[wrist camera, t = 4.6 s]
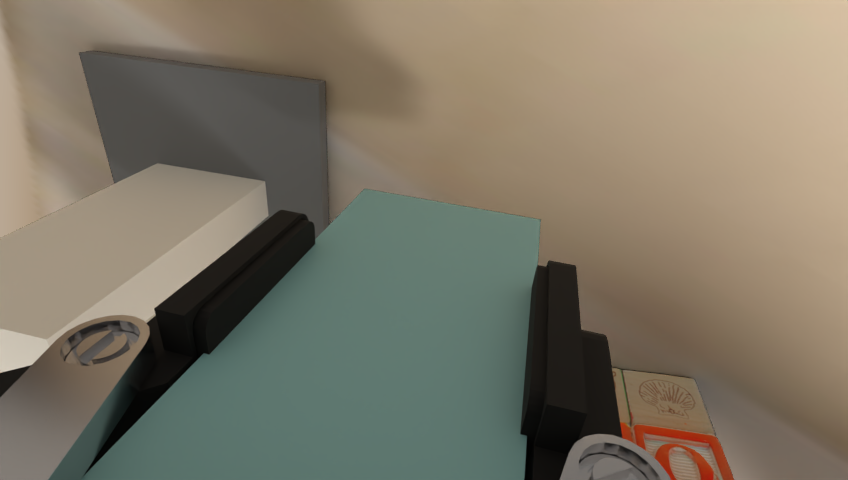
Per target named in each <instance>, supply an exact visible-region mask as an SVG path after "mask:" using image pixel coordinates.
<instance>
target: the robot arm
mask: <svg viewBox="0 0 848 480" xmlns="http://www.w3.org/2000/svg"><path fill="white" fill-rule="evenodd" d="M314 245H315V226H314V223H313V222H311V221H309V220H308V217H307V216H306V215H305V214H302V213H297V212H292V211H287V210H279V211H278V212H276V213H275V214H274V215H273V216H271V217H270V218H269V219H267V220H266V221H265V222H264V223H262V224H261V225H260V226H259V227H257V228H256V229H255V230H253V231H252V232H251V233H250V234H248V235H247V236H246V237H245V238H243V239H242V240H241V241H239V242H238V243H237V244H236V245H234V246H233V247H232V248H231V249H229V250H228V251H227V252H225V253H224V254H223V255H222V256H220V257H219V258H218V259H217V260H215V261H214V262H213V263H211V264H210V265H209V266H208V267H206V268H205V269H204V270H203V271H201V272H200V273H199V274H197V275H196V276H195V277H194V278H192V279H191V280H190V281H189V282H187V283H186V284H185V285H183V286H182V287H181V288H180V289H178V290H177V291H176V292H175V293H173V294H172V295H171V296H169V297H168V298H167V299H166V300H164V301H163V302H162V303H161V304H159V305H158V306H157V307H155V308H154V310H155V314H156V316H155V317H153V318H152V319H151V320H150V321H148V322H147V323H146V322H145V321H144V320H142V319H140V318H137V317H135V316H128V315H111V316H105V317H101V318H96V319H93V320H90V321H87V322H84V323H82V324H79V325H78V326H76V327H74V328H72V329H70V330H68V331H67V332H65V333H64V334H63V335H62V336H61V337H59V338H58V339H57V340H56V341H55V342H54V343H53V344H52V345H51V346H50V347H49V348H48V349H47V350H46V351H45V352H44V353H43V354H42V355H41V356H40V357H39V358H38V359H37V360H36V361H35V362H34V363H33V364H32V365H30V366H26V367H22V368H18V369H14V370H10V371H6V372H2V373H0V480H81V479H82V477H83V476H84V475H85V474H86V473H87V472H88V471H89V470H90V469H91V468H92V467H93V466H94V465H95V464H96V463H97V462H98V461H99V460H100V459H101V458H102V457H103V456H104V455H105V454H106V453H107V452H108V450H109V449H110V448H111V447H112V446H113V445H114V444H115V443H116V442H117V441H118V440H119V439H120V438H121V437H122V436H123V435H124V434H125V433H126V432H127V431H128V430H129V429H130V428H131V427H132V426H133V425H134V424H135V423H136V422H137V421H138V420H139V419H140V418H141V417H142V416H143V415H144V414H145V413H146V412H147V411H148V410H149V409H150V408H151V407H152V406H153V405H154V404H155V402H156V401H157V400H158V399H159V398H160V397H161V396H162V395H163V394H164V393H165V392H166V391H167V390H168V389H169V388H170V387H171V386H172V385H173V384H174V383H175V382H176V381H177V380H178V379H179V378H180V377H181V376H182V375H183V374H184V373H185V372H186V371H187V370H188V369H189V368H190V367H191V366H192V365H193V364H194V363H195V362H196V361H197V360H198V359H199V358H200V357H201V355H202V354H203V353H205V354H208V355H209V354H210V353H211V352H212V351H213V350H214V349H215V348H216V347H217V346H218V345H219V344H220V343H221V342H222V341H223V340H224V339H225V338H226V337H227V336H228V335H229V334H230V333H231V331H232V330H233V329H234V328H235V327H236V326H237V325H238V324H239V323H240V322H241V321H242V320H243V319H244V318H245V317H246V316H247V315H248V314H249V313H250V312H251V311H252V310H253V309H254V307H255V306H256V305H257V304H258V303H259V302H260V301H261V300H262V299H263V298H264V297H265V296H266V295H267V294H268V293H269V292H270V291H271V290H272V289H273V288H274V287H275V286H276V284H277V283H278V282H279V281H280V280H281V279H282V278H283V277H284V276H285V275H286V274H287V273H288V272H289V271H290V270H291V269H292V268H293V267H294V266H295V265H296V264H297V263H298V262H299V260H300V259H301V258H302V257H303V256H304V255H305V254H306V253H307V252H308V251H309V250H310V249H311V248H312V247H313V246H314ZM520 434H522V435H526V436H527V445H526V461H525V477H524V480H671V479H670V476H669V475H668V474H667V472H666V471H665V470H664V468H663V467H662V466H661V464H660V463H659V462H658V461H657V460H656V459H655V458H654V457H653V456H651V455H650V454H649V453H648V452H647V451H646V450H644V449H643V448H641V447H639V446H638V445H636V444H634V443H632V442H631V441H629V440H626V439H623V437H622V431H621V424H620V418H619V411H618V405H617V398H616V392H615V385H614V378H613V372H612V365H611V359H610V352H609V346H608V341H607V337H606V336H605V335H603V334H598V333H594V332H589V331H584V330H581V324H580V311H579V298H578V285H577V272H576V266H575V265H570V264H565V263H560V262H554V261H548V263H547V267H544V266H539V265H537V268H536V271H535V275H534V280H533V284H532V290H531V303H530V316H529V328H528V341H527V354H526V367H525V379H524V392H523V405H522V417H521V430H520Z"/></svg>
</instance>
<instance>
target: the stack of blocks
mask: <svg viewBox="0 0 848 480" xmlns="http://www.w3.org/2000/svg"><path fill="white" fill-rule="evenodd" d="M612 372H613V378H614V385H615V392H616V398H617V405H618V411H619V418H620V424H621V431H622V437H623V439H626V440H629V441H631V442H632V443H634V444H636V445H638V446H639V447H641V448H643V449H644V450H646V451H647V452H648V453H649V454H650V455H651V456H653V457H654V458H655V459H656V460H657V461H658V462H659V463H660V464H661V466H662V467H663V468H664V470H665V471H666V472H667V474H668V475H669V476H670V479H671V480H734V478H733V475H732V472H731V470H730V467H729V465H728V462H727V460H726V457H725V455H724V452H723V449H722V447H721V444H720V442H719V440H718V439H717V438H716V434H715V430H714V428H713V425H712V422H711V420H710V418H709V415H708V412H707V409H706V407H705V404H704V402H703V400H702V397H701V394H700V391H699V389H698V386H697V383H696V381H695V379H691V378H685V377H677V376H670V375H663V374H655V373H646V372H638V371H629V370H620V369H617V368H612Z"/></svg>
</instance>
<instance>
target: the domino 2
mask: <svg viewBox="0 0 848 480" xmlns="http://www.w3.org/2000/svg"><path fill="white" fill-rule="evenodd" d="M540 222H541V220H540V219H534V218H529V217H523V216H517V215H512V214H506V213H500V212H495V211H489V210H483V209H477V208H472V207H466V206H460V205H455V204H449V203H443V202H438V201H432V200H426V199H420V198H415V197H409V196H403V195H398V194H392V193H386V192H381V191H375V190H369V189H364V190H363V191H362V192H361V193H360V194H359V195H358V196H357V197H356V198H355V199H354V200H353V201H352V202H351V203H350V204H349V205H348V206H347V207H346V208H345V209H344V210H343V211H342V212H341V213H340V215H339V216H338V217H337V218H336V219H335V220H334V221H333V222H332V223H331V224H330V225H329V226H328V227H327V228H326V229H325V230H324V231H323V232H322V233H321V234H320V235H319V236H318V237H317V238H316V239H315V245H314V246H313V247H312V248H311V249H310V250H309V251H308V252H307V253H306V254H305V255H304V256H303V257H302V258H301V259H300V260H299V262H298V263H297V264H296V265H295V266H294V267H293V268H292V269H291V270H290V271H289V272H288V273H287V274H286V275H285V276H284V277H283V278H282V279H281V280H280V281H279V282H278V283H277V284H276V286H275V287H274V288H273V289H272V290H271V291H270V292H269V293H268V294H267V295H266V296H265V297H264V298H263V299H262V300H261V301H260V302H259V303H258V304H257V305H256V306H255V307H254V309H253V310H252V311H251V312H250V313H249V314H248V315H247V316H246V317H245V318H244V319H243V320H242V321H241V322H240V323H239V324H238V325H237V326H236V327H235V328H234V329H233V330H232V331H231V333H230V334H229V335H228V336H227V337H226V338H225V339H224V340H223V341H222V342H221V343H220V344H219V345H218V346H217V347H216V348H215V349H214V350H213V351H212V352H211V353H210V354H209V355H208V354H205V353H203V354H202V355H201V357H200V358H199V359H198V360H197V361H196V362H195V363H194V364H193V365H192V366H191V367H190V368H189V369H188V370H187V371H186V372H185V373H184V374H183V375H182V376H181V377H180V378H179V379H178V380H177V381H176V382H175V383H174V384H173V385H172V386H171V387H170V388H169V389H168V390H167V391H166V392H165V393H164V394H163V395H162V396H161V397H160V398H159V399H158V400H157V401H156V402H155V404H154V405H153V406H152V407H151V408H150V409H149V410H148V411H147V412H146V413H145V414H144V415H143V416H142V417H141V418H140V419H139V420H138V421H137V422H136V423H135V424H134V425H133V426H132V427H131V428H130V429H129V430H128V431H127V432H126V433H125V434H124V435H123V436H122V437H121V438H120V439H119V440H118V441H117V442H116V443H115V444H114V445H113V446H112V447H111V448H110V449H109V450H108V452H107V453H106V454H105V455H104V456H103V457H102V458H101V459H100V460H99V461H98V462H97V463H96V464H95V465H94V466H93V467H92V468H91V469H90V470H89V471H88V472H87V473H86V474H85V475H84V476H83V477H82V479H81V480H524V477H525V461H526V445H527V436H526V435H522V434H520V430H521V417H522V405H523V392H524V379H525V367H526V354H527V341H528V328H529V316H530V303H531V290H532V284H533V280H534V275H535V271H536V268H537V265H538V254H539V238H540Z"/></svg>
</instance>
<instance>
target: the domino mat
mask: <svg viewBox="0 0 848 480" xmlns="http://www.w3.org/2000/svg"><path fill="white" fill-rule="evenodd" d="M79 55H80V59H81V62H82V66H83V70H84V73H85V77H86V81H87V84H88V88H89V92H90V95H91V99H92V103H93V106H94V110H95V114H96V117H97V121H98V125H99V128H100V132H101V136H102V139H103V143H104V147H105V150H106V154H107V158H108V161H109V165H110V169H111V172H112V176H113V180H114V184H115V183H117V182H119V181H121V180H123V179H125V178H128V177H130V176H132V175H134V174H136V173H138V172H140V171H142V170H144V169H147V168H149V167H151V166H153V165H155V164H157V163H159V164H165V165H171V166H177V167H183V168H189V169H195V170H201V171H207V172H213V173H219V174H225V175H231V176H237V177H243V178H249V179H255V180H261V181H265V185H266V195H267V205H268V215H269V216H268V217H266V218H265V219H264V220H263V221H262V222H261V223H259V224H258V225H257V226H256V227H255V228H254V229H252V230H251V231H250V232H249V233H248V234H250V233H251V232H252V231H253V230H255V229H256V228H257V227H259V226H260V225H261V224H262V223H264V222H265V221H266V220H267V219H269V218H270V217H271V216H273V215H274V214H275V213H276V212H278V211H279V210H287V211H292V212H297V213H302V214H305V215H306V216H307V217H308V220H309V221H311V222H313V223H314V226H315V239H316V238H317V237H318V236H319V235H320V234H321V233H322V232H323V231H324V230H325V229H326V228H327V227H328V226H329V209H328V172H327V135H326V97H325V81H321V80H314V79H306V78H298V77H291V76H283V75H275V74H267V73H260V72H252V71H244V70H237V69H229V68H221V67H214V66H206V65H198V64H190V63H183V62H175V61H167V60H160V59H152V58H144V57H136V56H129V55H121V54H113V53H106V52H98V51H86V52H80V53H79ZM248 234H247V235H248ZM247 235H245V236H244V237H243V238H245V237H246V236H247ZM243 238H242V239H243ZM242 239H241V240H242ZM241 240H240V241H241ZM238 242H239V241H238ZM238 242H237V243H238ZM237 243H236V244H237ZM236 244H235V245H236ZM230 249H231V248H230Z"/></svg>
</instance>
